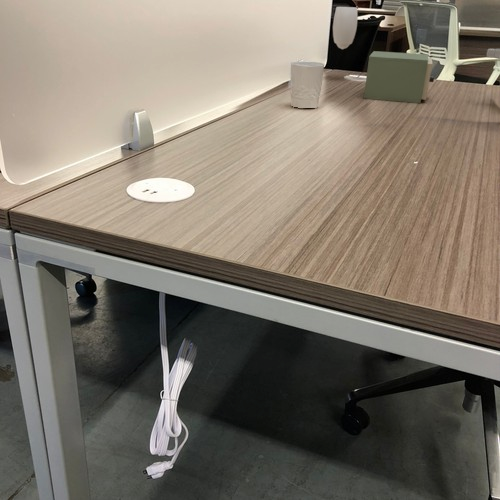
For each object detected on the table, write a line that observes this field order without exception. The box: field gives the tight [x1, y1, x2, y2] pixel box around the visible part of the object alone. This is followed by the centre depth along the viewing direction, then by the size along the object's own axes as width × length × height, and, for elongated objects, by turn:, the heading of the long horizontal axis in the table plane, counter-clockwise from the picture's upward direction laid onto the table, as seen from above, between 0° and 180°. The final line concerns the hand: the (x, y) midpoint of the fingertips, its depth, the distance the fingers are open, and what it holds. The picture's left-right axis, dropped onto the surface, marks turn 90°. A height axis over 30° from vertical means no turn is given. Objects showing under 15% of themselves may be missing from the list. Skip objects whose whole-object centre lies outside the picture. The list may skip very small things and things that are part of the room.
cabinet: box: [363, 50, 429, 104], centre depth 136 cm, size 15×13×11 cm
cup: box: [332, 6, 359, 50], centre depth 157 cm, size 7×7×21 cm
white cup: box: [289, 60, 325, 109], centre depth 122 cm, size 8×8×10 cm
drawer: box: [421, 57, 435, 101], centre depth 135 cm, size 15×11×9 cm
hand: (486, 52), depth 127 cm, fingers closed
